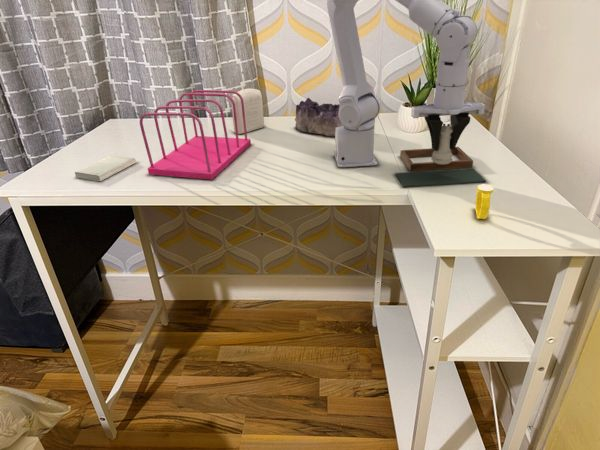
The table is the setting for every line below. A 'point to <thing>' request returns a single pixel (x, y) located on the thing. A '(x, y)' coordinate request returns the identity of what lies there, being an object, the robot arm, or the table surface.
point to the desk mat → (439, 177)
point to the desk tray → (462, 163)
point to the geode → (317, 118)
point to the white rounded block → (248, 110)
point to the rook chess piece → (443, 146)
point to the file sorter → (197, 142)
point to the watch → (483, 200)
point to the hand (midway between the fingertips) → (442, 148)
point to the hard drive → (105, 168)
